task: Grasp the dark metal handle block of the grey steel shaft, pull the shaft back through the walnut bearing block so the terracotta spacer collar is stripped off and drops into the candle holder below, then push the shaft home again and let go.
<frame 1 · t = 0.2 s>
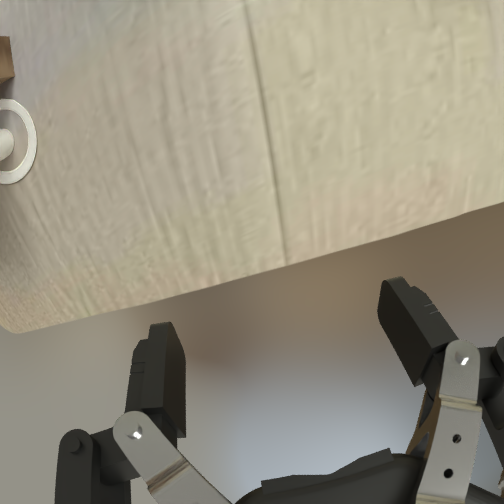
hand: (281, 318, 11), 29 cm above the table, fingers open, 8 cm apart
candle holder: (6, 140, 31), on the table
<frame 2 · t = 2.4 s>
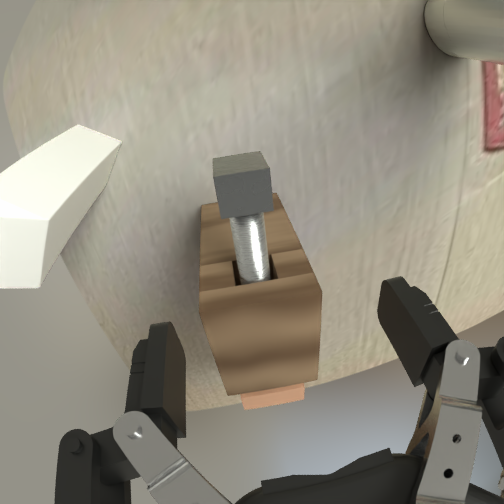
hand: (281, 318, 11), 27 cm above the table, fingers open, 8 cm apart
spacer: (264, 352, 39), point 10 cm above the table, touching shaft
shaft: (260, 316, 29), point 14 cm above the table, slide at 0.0 cm, touching spacer
milk: (92, 155, 32), on the table
bearing block: (245, 241, 41), on the table
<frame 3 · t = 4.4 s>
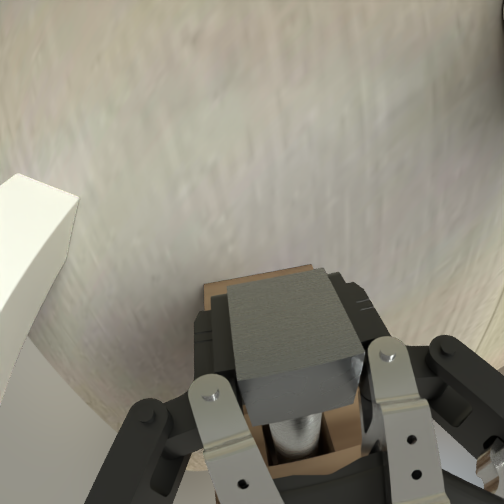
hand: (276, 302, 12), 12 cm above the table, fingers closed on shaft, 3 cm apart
shaft: (297, 461, 18), point 14 cm above the table, slide at 0.0 cm, touching gripper, spacer
milk: (42, 216, 21), on the table
bearing block: (265, 324, 29), on the table
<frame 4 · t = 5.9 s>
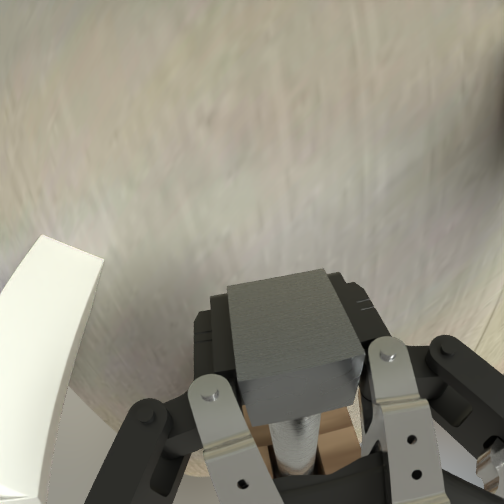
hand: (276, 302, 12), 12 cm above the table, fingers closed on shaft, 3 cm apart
shaft: (296, 461, 18), point 14 cm above the table, slide at 5.6 cm, touching gripper
milk: (67, 271, 24), on the table
bearing block: (270, 358, 33), on the table
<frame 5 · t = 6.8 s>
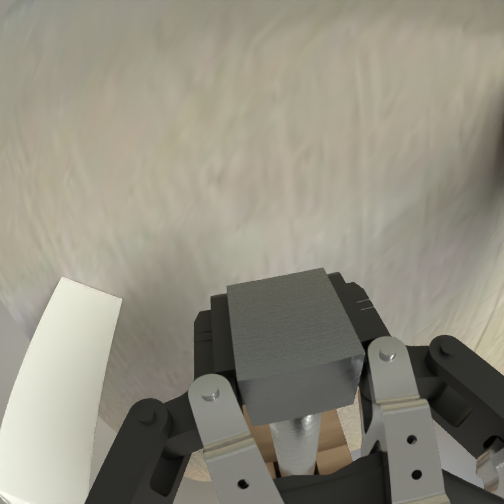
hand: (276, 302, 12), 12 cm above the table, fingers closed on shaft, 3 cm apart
shaft: (297, 461, 18), point 14 cm above the table, slide at 9.8 cm, touching gripper
milk: (87, 308, 26), on the table
bearing block: (274, 379, 35), on the table
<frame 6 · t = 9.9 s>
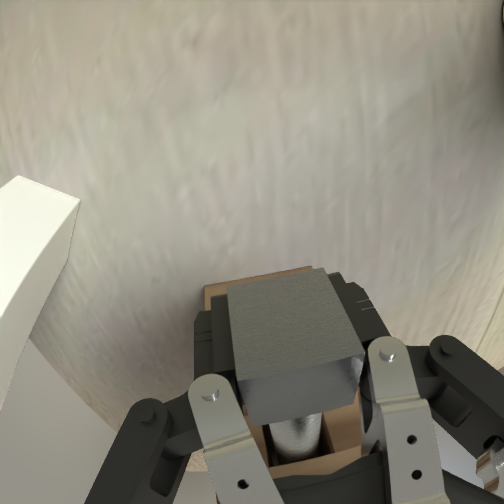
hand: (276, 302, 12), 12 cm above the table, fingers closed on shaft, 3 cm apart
shaft: (297, 461, 18), point 14 cm above the table, slide at 0.2 cm, touching gripper
milk: (42, 218, 21), on the table
bearing block: (265, 325, 30), on the table
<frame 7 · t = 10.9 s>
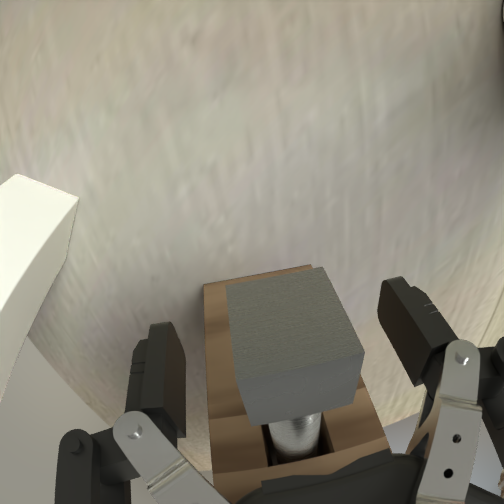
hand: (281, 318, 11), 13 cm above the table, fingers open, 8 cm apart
shaft: (296, 461, 17), point 14 cm above the table, slide at 0.1 cm
milk: (41, 216, 21), on the table
bearing block: (265, 324, 29), on the table
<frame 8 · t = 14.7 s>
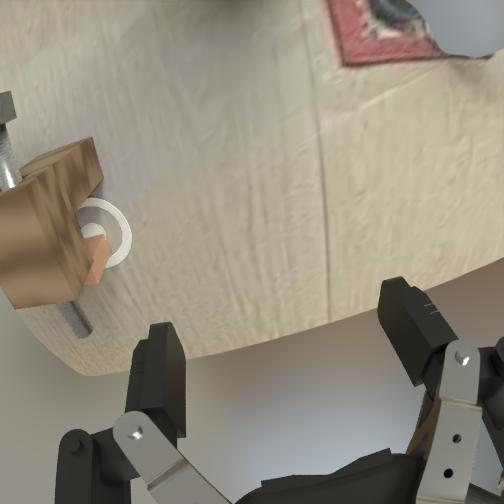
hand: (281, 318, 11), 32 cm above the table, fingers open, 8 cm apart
spacer: (86, 247, 40), point 4 cm above the table, touching candle holder
candle holder: (95, 232, 44), on the table, touching spacer
shaft: (30, 231, 27), point 14 cm above the table, slide at 0.1 cm
bearing block: (76, 185, 39), on the table
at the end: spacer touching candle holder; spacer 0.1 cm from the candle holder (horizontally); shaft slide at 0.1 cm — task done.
